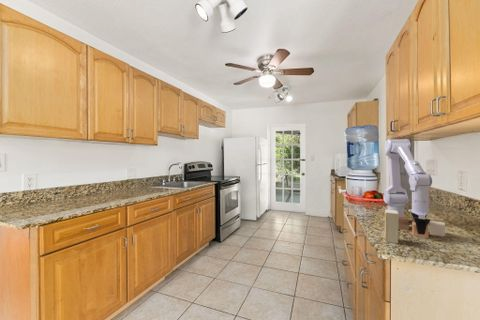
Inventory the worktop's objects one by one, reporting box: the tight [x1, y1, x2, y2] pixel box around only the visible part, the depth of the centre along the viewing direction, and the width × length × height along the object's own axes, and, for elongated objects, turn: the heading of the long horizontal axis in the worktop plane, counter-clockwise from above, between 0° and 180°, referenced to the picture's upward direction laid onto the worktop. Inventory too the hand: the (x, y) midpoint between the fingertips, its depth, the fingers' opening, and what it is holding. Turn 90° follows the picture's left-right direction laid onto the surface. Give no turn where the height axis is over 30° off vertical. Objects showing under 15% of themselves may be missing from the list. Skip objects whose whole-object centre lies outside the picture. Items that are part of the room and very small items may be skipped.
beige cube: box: [429, 220, 446, 237], centre depth 97 cm, size 5×5×5 cm
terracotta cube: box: [411, 221, 429, 239], centre depth 95 cm, size 5×5×5 cm
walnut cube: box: [398, 216, 410, 231], centre depth 106 cm, size 5×5×5 cm
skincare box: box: [384, 209, 399, 245], centre depth 89 cm, size 6×4×12 cm
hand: (420, 231), depth 95 cm, fingers open, 7 cm apart
